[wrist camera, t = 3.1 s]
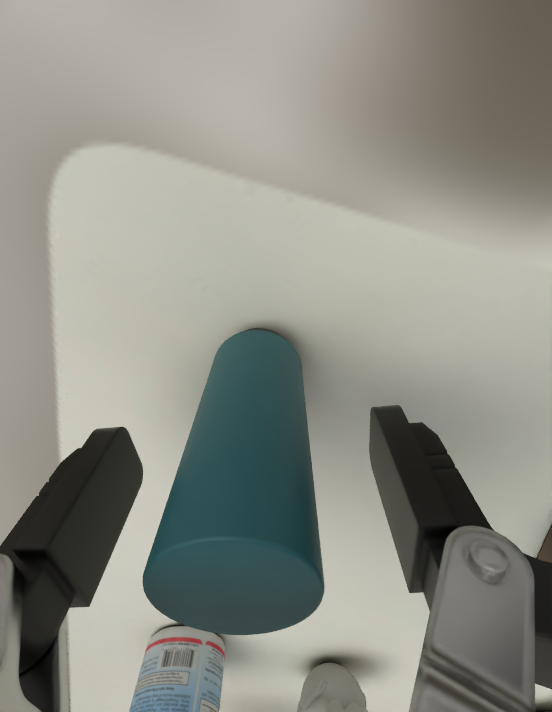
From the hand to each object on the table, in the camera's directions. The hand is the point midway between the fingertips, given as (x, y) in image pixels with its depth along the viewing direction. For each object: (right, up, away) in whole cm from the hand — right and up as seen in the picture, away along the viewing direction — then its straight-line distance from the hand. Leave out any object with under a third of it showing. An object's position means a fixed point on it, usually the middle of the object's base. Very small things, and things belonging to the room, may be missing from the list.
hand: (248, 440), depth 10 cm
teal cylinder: (0, +2, +4) cm, 5 cm away
